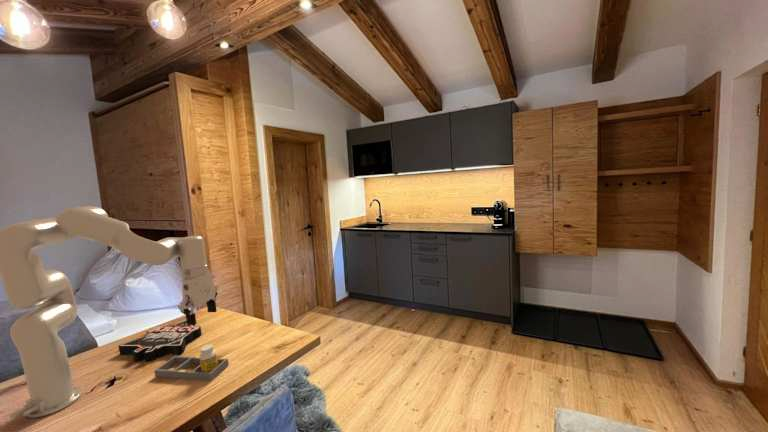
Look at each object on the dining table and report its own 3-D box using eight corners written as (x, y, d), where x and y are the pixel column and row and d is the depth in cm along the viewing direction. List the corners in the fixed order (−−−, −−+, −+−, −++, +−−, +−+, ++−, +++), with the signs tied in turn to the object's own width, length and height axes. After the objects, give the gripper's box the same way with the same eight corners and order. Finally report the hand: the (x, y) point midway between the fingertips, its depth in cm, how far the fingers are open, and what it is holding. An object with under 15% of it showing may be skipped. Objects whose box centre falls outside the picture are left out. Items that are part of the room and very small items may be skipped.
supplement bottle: (213, 366, 116) (209, 342, 115) (221, 369, 114) (218, 345, 112) (198, 374, 112) (194, 349, 110) (207, 378, 109) (203, 352, 108)
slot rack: (211, 380, 107) (210, 373, 107) (155, 376, 112) (153, 369, 111) (228, 364, 116) (227, 357, 116) (176, 361, 121) (175, 355, 120)
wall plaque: (105, 353, 123) (165, 318, 152) (107, 363, 123) (166, 326, 153) (170, 353, 120) (218, 317, 150) (171, 363, 121) (219, 325, 150)
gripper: (184, 280, 99) (192, 330, 101) (222, 264, 116) (228, 307, 118) (164, 280, 100) (173, 329, 102) (204, 264, 117) (210, 307, 119)
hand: (202, 318), depth 110 cm, fingers open, 9 cm apart
